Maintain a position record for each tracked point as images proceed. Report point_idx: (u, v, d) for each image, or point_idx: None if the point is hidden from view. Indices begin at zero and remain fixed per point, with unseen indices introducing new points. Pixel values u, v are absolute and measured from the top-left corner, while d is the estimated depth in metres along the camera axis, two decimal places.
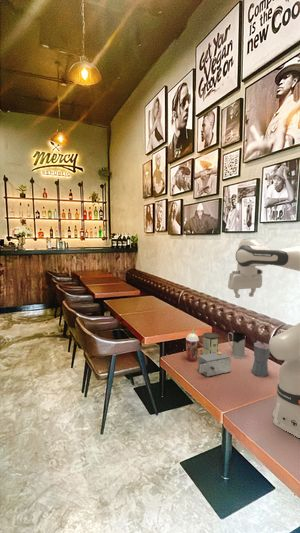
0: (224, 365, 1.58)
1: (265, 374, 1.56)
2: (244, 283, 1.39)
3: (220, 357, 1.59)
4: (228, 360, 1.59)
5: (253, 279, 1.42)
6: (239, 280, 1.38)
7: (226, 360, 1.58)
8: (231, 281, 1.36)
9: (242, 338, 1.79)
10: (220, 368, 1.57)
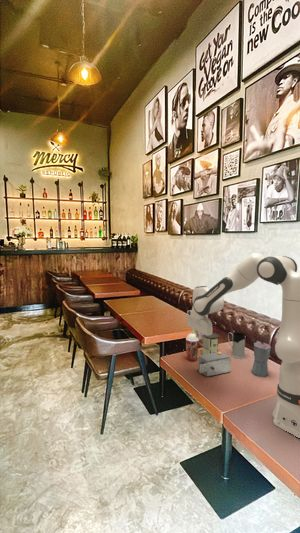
0: (224, 365, 1.58)
1: (265, 374, 1.56)
2: None
3: (220, 357, 1.59)
4: (228, 360, 1.59)
5: None
6: None
7: (226, 360, 1.58)
8: (211, 328, 1.46)
9: (242, 338, 1.79)
10: (220, 368, 1.57)
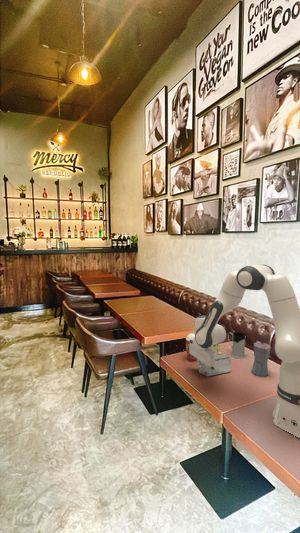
0: (224, 365, 1.58)
1: (265, 374, 1.56)
2: None
3: (220, 357, 1.59)
4: (228, 360, 1.59)
5: None
6: None
7: (226, 360, 1.58)
8: (213, 359, 1.45)
9: (242, 338, 1.79)
10: (220, 368, 1.57)
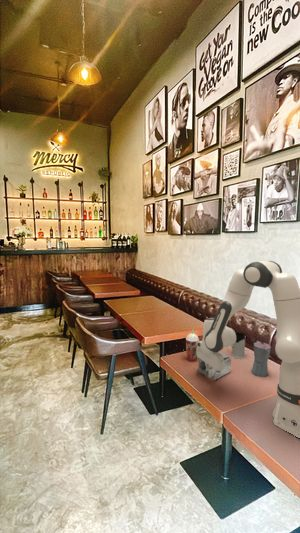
0: (226, 366, 1.57)
1: (265, 374, 1.56)
2: None
3: None
4: (229, 360, 1.58)
5: None
6: None
7: (228, 361, 1.57)
8: (222, 363, 1.40)
9: (242, 338, 1.79)
10: (223, 370, 1.55)
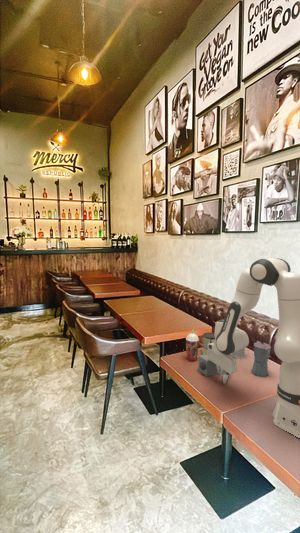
0: None
1: (265, 374, 1.56)
2: None
3: None
4: None
5: None
6: None
7: None
8: (235, 366, 1.37)
9: None
10: None
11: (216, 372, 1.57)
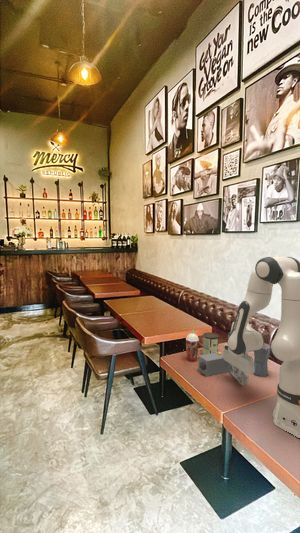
0: None
1: (265, 374, 1.56)
2: None
3: (220, 357, 1.59)
4: None
5: None
6: None
7: None
8: (253, 366, 1.37)
9: None
10: None
11: (216, 372, 1.57)
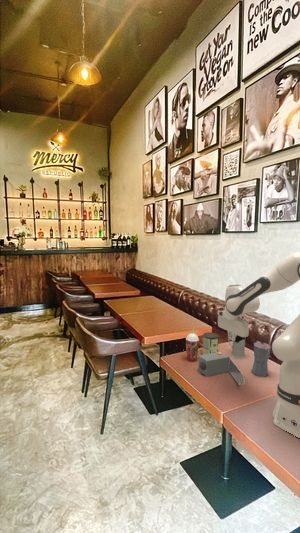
0: None
1: (265, 374, 1.56)
2: None
3: (220, 357, 1.59)
4: None
5: None
6: None
7: None
8: (247, 329, 1.38)
9: (242, 338, 1.79)
10: None
11: (216, 372, 1.57)
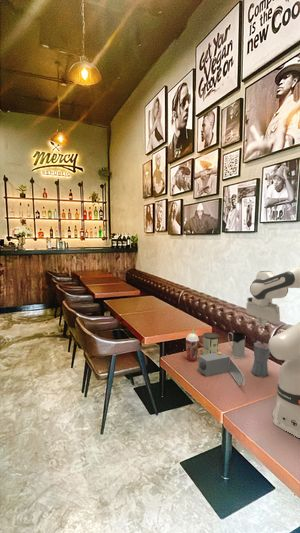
0: None
1: (265, 374, 1.56)
2: None
3: (220, 357, 1.59)
4: None
5: None
6: None
7: None
8: (278, 314, 1.38)
9: (242, 338, 1.79)
10: None
11: (216, 372, 1.57)
